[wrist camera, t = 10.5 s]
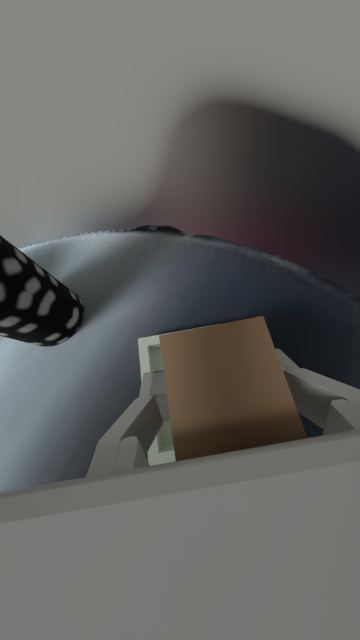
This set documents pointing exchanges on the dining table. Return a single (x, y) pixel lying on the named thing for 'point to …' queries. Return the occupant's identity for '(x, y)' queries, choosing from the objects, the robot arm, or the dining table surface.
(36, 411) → the dining table surface
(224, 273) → the dining table surface
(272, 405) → the block
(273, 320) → the dining table surface
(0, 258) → the spotted tube
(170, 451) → the dish
